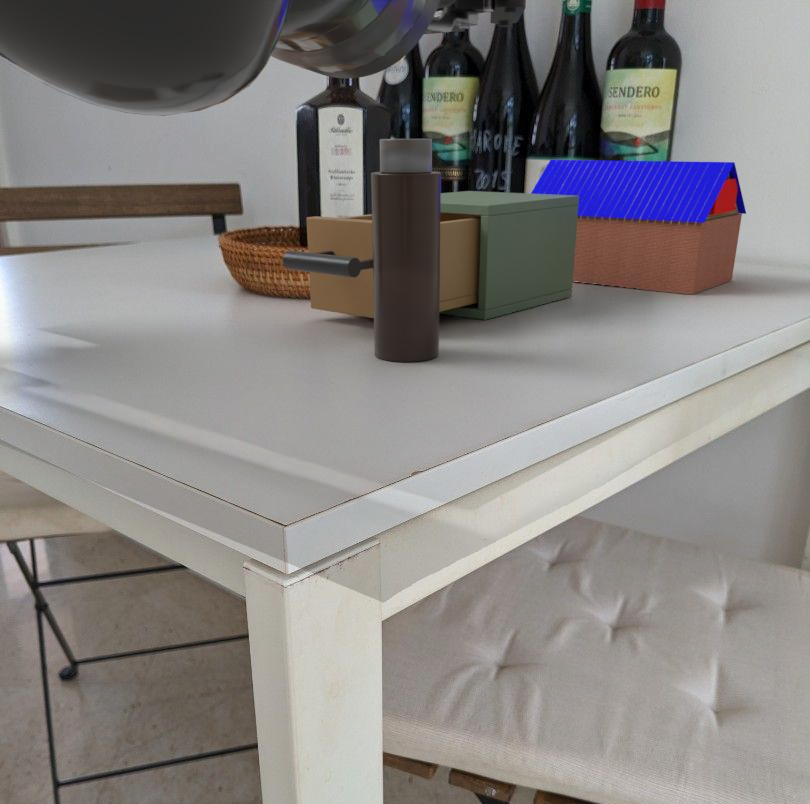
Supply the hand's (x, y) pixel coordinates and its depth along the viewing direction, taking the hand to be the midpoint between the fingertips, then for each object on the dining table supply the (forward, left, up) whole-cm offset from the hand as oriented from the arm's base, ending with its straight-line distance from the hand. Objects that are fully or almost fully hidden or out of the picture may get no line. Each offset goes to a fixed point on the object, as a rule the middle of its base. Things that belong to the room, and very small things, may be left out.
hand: (384, 8), depth 43 cm
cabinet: (-15, +30, -20) cm, 39 cm away
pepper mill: (-6, +9, -20) cm, 23 cm away
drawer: (-15, +18, -19) cm, 30 cm away
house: (-10, +51, -20) cm, 56 cm away
